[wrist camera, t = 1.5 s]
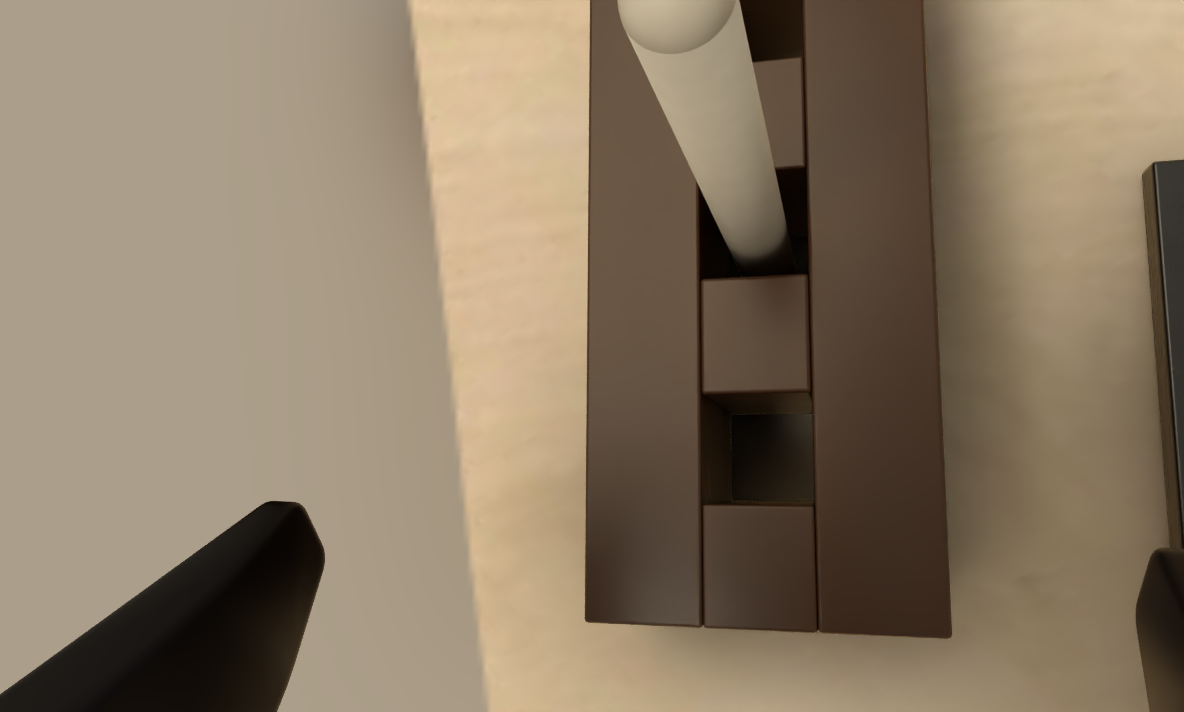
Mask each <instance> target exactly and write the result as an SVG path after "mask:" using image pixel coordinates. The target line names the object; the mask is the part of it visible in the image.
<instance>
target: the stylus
mask: <svg viewBox="0 0 1184 712" xmlns="http://www.w3.org/2000/svg"><path fill="white" fill-rule="evenodd" d="M617 1H618V10H619V14H620V18H621V21H622V24H623V27H624V29H625V31H626V33H627V35H628V37H629V39H630V41H631V43H632V46H633V48H634V50H635V52H636V54H637V56H638V58H639V60H640V62H641V65H642V67H643V69H644V71H645V73H646V75H647V77H648V79H649V81H650V84H651V86H652V88H653V90H654V92H655V94H656V96H657V98H658V100H659V103H660V105H661V107H662V109H663V111H664V113H665V115H666V117H667V120H668V122H669V124H670V126H671V128H672V130H673V132H674V134H675V136H676V139H677V141H678V143H679V145H680V147H681V149H682V151H683V153H684V155H685V158H686V160H687V162H688V164H689V166H690V168H691V170H692V172H693V174H694V177H695V179H696V181H697V183H698V185H699V187H700V189H701V191H702V193H703V196H704V198H705V200H706V202H707V204H708V206H709V208H710V210H711V213H712V215H713V217H714V219H715V221H716V223H717V225H718V227H719V229H720V232H721V234H722V236H723V238H724V240H725V242H726V244H727V246H728V248H729V251H730V253H731V255H732V257H733V259H734V261H735V263H736V265H737V267H738V270H739V272H740V274H741V276H742V277H749V276H769V275H789V274H796V267H795V263H794V258H793V253H792V248H791V244H790V239H789V234H788V229H787V225H786V220H785V215H784V210H783V206H782V201H781V196H780V191H779V187H778V182H777V177H776V173H775V168H774V163H773V158H772V154H771V149H770V144H769V139H768V135H767V130H766V125H765V120H764V116H763V111H762V106H761V101H760V97H759V92H758V87H757V82H756V78H755V73H754V68H753V64H752V59H751V54H750V49H749V45H748V40H747V35H746V30H745V26H744V21H743V16H742V11H741V7H740V2H739V0H617Z"/></svg>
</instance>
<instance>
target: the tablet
mask: <svg viewBox="0 0 1184 712" xmlns="http://www.w3.org/2000/svg"><path fill="white" fill-rule="evenodd" d="M1142 181H1143V194H1144V207H1145V220H1146V234H1147V247H1148V260H1149V273H1150V286H1151V299H1152V312H1153V325H1154V338H1155V351H1156V364H1157V378H1158V391H1159V404H1160V417H1161V430H1162V443H1163V456H1164V469H1165V482H1166V495H1167V508H1168V522H1169V535H1170V548H1175V549H1184V160H1173V161H1159V162H1154V163H1152V164H1151V165H1150V166H1149V167H1148V168H1147V169H1146V170H1145V171H1144V172H1143V174H1142Z"/></svg>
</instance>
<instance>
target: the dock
mask: <svg viewBox="0 0 1184 712" xmlns="http://www.w3.org/2000/svg"><path fill="white" fill-rule="evenodd" d="M739 2H740V7H741V11H742V16H743V21H744V26H745V30H746V35H747V40H748V45H749V49H750V54H751V59H752V64H753V68H754V73H755V78H756V82H757V87H758V92H759V97H760V101H761V106H762V111H763V116H764V120H765V125H766V130H767V135H768V139H769V144H770V149H771V154H772V158H773V163H774V168H775V173H776V177H777V182H778V187H779V191H780V196H781V201H782V206H783V210H784V215H785V220H786V225H787V229H788V234H789V237H805V236H808V261H809V277H808V275H806V274H789V275H769V276H749V277H729V248H728V246H727V244H726V242H725V240H724V238H723V236H722V234H721V232H720V229H719V227H718V225H717V223H716V221H715V219H714V217H713V215H712V213H711V210H710V208H709V206H708V204H707V202H706V200H705V198H704V196H703V193H702V191H701V189H700V187H699V185H698V183H697V181H696V179H695V177H694V174H693V172H692V170H691V168H690V166H689V164H688V162H687V160H686V158H685V155H684V153H683V151H682V149H681V147H680V145H679V143H678V141H677V139H676V136H675V134H674V132H673V130H672V128H671V126H670V124H669V122H668V120H667V117H666V115H665V113H664V111H663V109H662V107H661V105H660V103H659V100H658V98H657V96H656V94H655V92H654V90H653V88H652V86H651V84H650V81H649V79H648V77H647V75H646V73H645V71H644V69H643V67H642V65H641V62H640V60H639V58H638V56H637V54H636V52H635V50H634V48H633V46H632V43H631V41H630V39H629V37H628V35H627V33H626V31H625V29H624V27H623V24H622V21H621V18H620V14H619V10H618V1H617V0H590V72H589V191H588V310H587V429H586V548H585V620H586V622H588V623H608V624H630V625H652V626H674V627H696V628H700V627H702V626H703V625H704V627H706V628H717V629H739V630H760V631H782V632H804V633H815V632H817V630H819V632H821V633H829V634H850V635H872V636H894V637H916V638H938V639H949V638H951V636H952V622H951V599H950V576H949V554H948V531H947V508H946V486H945V463H944V440H943V418H942V395H941V373H940V350H939V327H938V305H937V282H936V259H935V237H934V214H933V191H932V169H931V146H930V124H929V101H928V78H927V56H926V33H925V10H924V0H739ZM731 413H732V414H812V422H813V462H814V501H732V455H731Z"/></svg>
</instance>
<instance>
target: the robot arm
mask: <svg viewBox="0 0 1184 712" xmlns="http://www.w3.org/2000/svg"><path fill="white" fill-rule="evenodd" d="M324 564H325V553H324V548H323V545H322V543H321V541H320V539H319V537H318V534H317V532H316V530H315V528H314V526H313V524H312V522H311V520H310V518H309V516H308V513H307V512H306V510H305V508H304V507H303V506H302V505H300V504H299V503H296V502H282V501H270V502H266V503H264V504H262V505H261V506H259V507H258V508H256V509H255V510H254V511H252V512H251V513H249V514H248V515H247V516H245V517H244V518H242V519H241V520H240V521H238V522H237V523H236V524H234V525H233V526H231V528H229V529H227V530H226V531H225V532H223V533H222V534H220V535H219V536H218V537H216V538H215V539H214V540H213V541H211V542H210V543H208V544H207V545H205V546H204V547H203V548H201V549H200V550H198V551H197V552H196V553H194V554H193V555H192V556H190V557H189V558H188V559H186V560H185V561H183V562H182V563H181V564H179V565H178V566H176V567H175V568H174V569H172V570H171V571H170V572H168V573H167V574H165V575H164V576H163V577H161V578H160V579H159V580H157V581H156V582H154V583H153V584H152V585H150V586H149V587H148V588H146V589H145V590H144V591H142V592H141V593H139V594H138V595H137V596H135V597H134V598H132V599H131V600H130V601H128V602H127V603H126V604H124V605H123V606H121V607H120V608H119V609H117V610H116V611H114V612H113V613H112V614H111V615H109V616H108V617H106V618H105V619H104V620H102V621H101V622H99V623H98V624H97V625H95V626H94V627H92V628H91V629H90V630H88V631H87V632H86V633H84V634H83V635H81V636H80V637H79V638H77V639H76V640H75V641H73V642H72V643H70V644H69V645H68V646H66V647H65V648H64V649H62V650H61V651H59V652H58V653H57V654H55V655H54V656H53V657H51V658H50V659H48V660H47V661H46V662H44V663H43V664H42V665H40V666H39V667H37V668H36V669H35V670H33V671H32V672H31V673H29V674H28V675H27V676H25V677H24V678H22V679H21V680H19V681H18V682H17V683H15V684H14V685H13V686H11V687H10V688H8V689H7V690H6V691H4V692H3V693H1V694H0V712H277V710H278V708H279V705H280V703H281V700H282V698H283V695H284V693H285V690H286V687H287V685H288V682H289V679H290V676H291V673H292V670H293V667H294V664H295V661H296V658H297V655H298V651H299V648H300V645H301V641H302V638H303V635H304V632H305V628H306V625H307V622H308V619H309V615H310V612H311V609H312V606H313V602H314V599H315V596H316V592H317V589H318V586H319V582H320V579H321V576H322V573H323V569H324ZM1136 628H1137V634H1138V640H1139V647H1140V653H1141V659H1142V665H1143V672H1144V678H1145V684H1146V690H1147V696H1148V703H1149V709H1150V712H1184V549H1175V548H1159V549H1157V550H1155V551H1154V552H1153V553H1152V555H1151V557H1150V560H1149V563H1148V566H1147V570H1146V573H1145V576H1144V580H1143V583H1142V587H1141V590H1140V593H1139V597H1138V600H1137V604H1136Z"/></svg>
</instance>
